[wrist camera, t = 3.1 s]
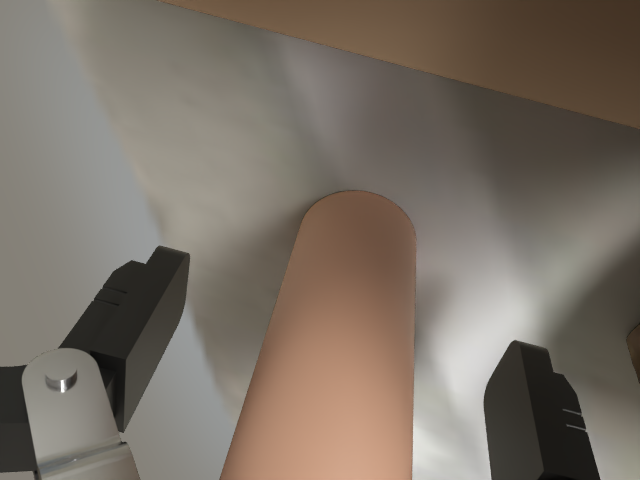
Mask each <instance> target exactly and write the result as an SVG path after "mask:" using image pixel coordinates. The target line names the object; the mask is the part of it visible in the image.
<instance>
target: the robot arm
mask: <svg viewBox="0 0 640 480" xmlns="http://www.w3.org/2000/svg"><path fill="white" fill-rule="evenodd" d="M189 264H190V254H189V253H186V252H182V251H178V250H175V249H171V248H167V247H163V246H158V247H157V248H156V249H155V251H154V252H153V254H152V256H151V257H150V259H149V260H148V262H147V263H146V264H144V263H140V262H136V261H132V260H131V261H130V262H128V263H126V264H125V265H123V266H121V267H120V268H118V269H116V270H115V271H114V272H113V273H112V274H111V276H110V277H109V279H108V280H107V281H106V283H105V284H104V285H103V288H102V289H101V290H100V291H99V293H98V294H97V295H96V297H95V298H94V301H92V302H91V304H90V305H89V306H88V308H87V309H86V311H85V312H84V314H83V315H82V316H81V317H80V319H79V320H78V322H77V323H76V325H75V326H74V327H73V329H72V330H71V331H70V333H69V334H68V336H67V337H66V338H65V340H64V341H63V343H62V344H61V345H60V346H59V348H58V349H54V350H50V351H47V352H45V353H42V354H41V355H39V356H37V357H36V358H34V359H33V360H32V361H31V362H30V363H29V364H28V365H23V366H14V367H0V472H1V473H2V472H18V471H33V474H34V480H140V477H139V474H138V471H137V468H136V465H135V462H134V459H133V455H132V452H131V450H130V448H129V445H128V444H127V443H126V442H122V441H121V438H120V436H119V432H122V433H124V431H125V429H126V427H127V425H128V423H129V421H130V419H131V417H132V415H133V413H134V411H135V409H136V407H137V405H138V403H139V401H140V399H141V397H142V395H143V393H144V391H145V389H146V387H147V385H148V383H149V381H150V379H151V378H152V376H153V373H154V372H155V370H156V368H157V365H158V364H159V362H160V360H161V358H162V355H163V354H164V352H165V350H166V348H167V346H168V344H169V342H170V339H171V338H172V336H173V334H174V332H175V330H176V328H177V326H178V324H179V321H180V319H181V316H182V313H183V309H184V305H185V300H186V291H187V282H188V273H189ZM581 413H582V412H581V409H580V405H579V401H578V398H577V394H576V393H575V391H574V390H573V388H572V387H571V385H570V384H569V382H568V381H567V380H566V378H565V377H564V375H562V374H558V373H554V372H553V368H552V364H551V360H550V356H549V353H548V351H547V349H546V348H543V347H539V346H536V345H532V344H528V343H524V342H520V341H517V340H514V341H512V342H511V343H510V345H509V346H508V348H507V350H506V352H505V353H504V355H503V357H502V359H501V360H500V362H499V364H498V365H497V367H496V369H495V371H494V372H493V374H492V376H491V378H490V379H489V381H488V384H487V386H486V390H485V394H484V414H485V423H486V432H487V441H488V450H489V460H490V469H491V478H492V480H600V476H599V473H598V469H597V466H596V462H595V459H594V455H593V451H592V448H591V444H590V441H589V437H588V434H587V432H585V430H586V426H585V423H584V419H583V417H582V416H581ZM118 431H119V432H118Z"/></svg>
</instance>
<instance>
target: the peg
mask: <svg viewBox="0 0 640 480" xmlns="http://www.w3.org/2000/svg"><path fill="white" fill-rule="evenodd" d="M415 285H416V235H415V231H414V228H413V225H412V223H411V221H410V219H409V218H408V216H407V215H406V214H405V213H404V212H403V210H402V209H401V208H400V207H398V206H397V205H396V204H395V203H393V202H392V201H390V200H388V199H387V198H384V197H382V196H380V195H377V194H374V193H370V192H365V191H343V192H338V193H334V194H331V195H329V196H326V197H324V198H323V199H321V200H319V201H318V202H316V203H315V204H314V205H313V206H312V207H311V208H310V209H309V210H308V211H307V213H306V214H305V216H304V218H303V220H302V222H301V225H300V228H299V231H298V235H297V238H296V241H295V244H294V247H293V250H292V253H291V257H290V260H289V263H288V266H287V269H286V272H285V275H284V278H283V282H282V285H281V288H280V291H279V294H278V297H277V300H276V304H275V307H274V310H273V313H272V316H271V319H270V322H269V325H268V329H267V332H266V335H265V338H264V341H263V344H262V347H261V351H260V354H259V357H258V360H257V363H256V366H255V369H254V373H253V376H252V379H251V382H250V385H249V388H248V391H247V394H246V398H245V401H244V404H243V407H242V410H241V413H240V416H239V420H238V423H237V426H236V429H235V432H234V435H233V438H232V442H231V445H230V448H229V451H228V454H227V457H226V460H225V464H224V467H223V470H222V473H221V476H220V479H219V480H412V452H413V396H414V341H415Z"/></svg>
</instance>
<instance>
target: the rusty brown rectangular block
mask: <svg viewBox="0 0 640 480" xmlns="http://www.w3.org/2000/svg"><path fill="white" fill-rule="evenodd" d="M626 341H627V345H628V349H629V352H630V355H631V359H632V363H633V366H634V368H635V371H636V374H637V377H638V380H639V383H640V324H639V325H638V326H637V327H636V328H635V329H634V330H633V331H632V332H631V333H630V334H629V336H628V337H627V339H626Z"/></svg>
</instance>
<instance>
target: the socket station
mask: <svg viewBox="0 0 640 480" xmlns="http://www.w3.org/2000/svg"><path fill="white" fill-rule="evenodd" d="M157 1H161V2H164V3H168V4H172V5H176V6H179V7H183V8H187V9H191V10H195V11H198V12H202V13H206V14H210V15H213V16H217V17H221V18H225V19H228V20H232V21H236V22H240V23H243V24H247V25H251V26H255V27H258V28H262V29H266V30H270V31H273V32H277V33H281V34H285V35H288V36H292V37H296V38H300V39H303V40H307V41H311V42H315V43H318V44H322V45H326V46H330V47H333V48H337V49H341V50H345V51H348V52H352V53H356V54H360V55H363V56H367V57H371V58H375V59H379V60H382V61H386V62H390V63H394V64H397V65H401V66H405V67H409V68H412V69H416V70H420V71H424V72H427V73H431V74H435V75H439V76H442V77H446V78H450V79H454V80H457V81H461V82H465V83H469V84H472V85H476V86H480V87H484V88H487V89H491V90H495V91H499V92H502V93H506V94H510V95H514V96H517V97H521V98H525V99H529V100H532V101H536V102H540V103H544V104H547V105H551V106H555V107H559V108H562V109H566V110H570V111H574V112H578V113H581V114H585V115H589V116H593V117H596V118H600V119H604V120H608V121H611V122H615V123H619V124H623V125H626V126H630V127H634V128H638V129H640V0H157Z"/></svg>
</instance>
